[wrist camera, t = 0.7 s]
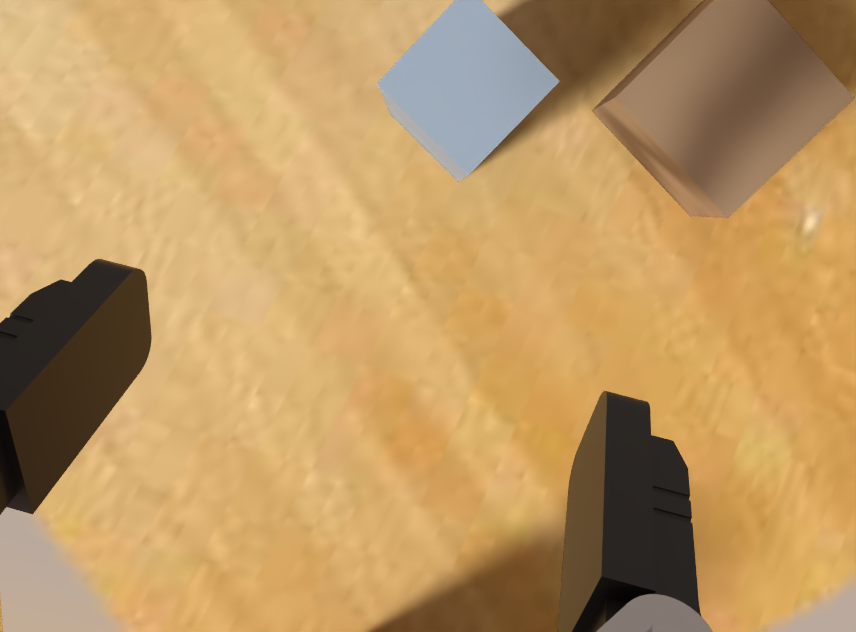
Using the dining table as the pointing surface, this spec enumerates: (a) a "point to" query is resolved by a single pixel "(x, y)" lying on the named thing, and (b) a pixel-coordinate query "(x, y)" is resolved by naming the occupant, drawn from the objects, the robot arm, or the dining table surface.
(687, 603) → the robot arm
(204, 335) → the dining table surface
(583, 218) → the dining table surface
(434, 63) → the pillar
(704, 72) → the walnut block
